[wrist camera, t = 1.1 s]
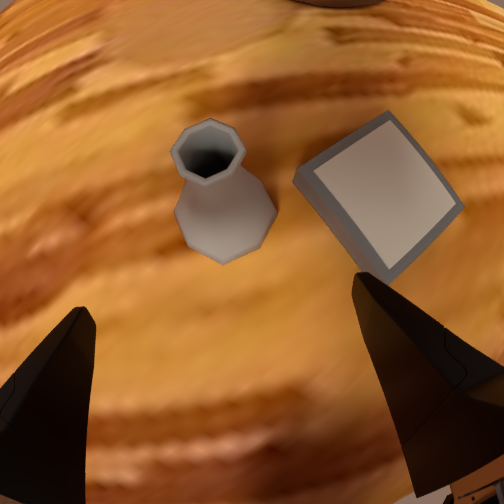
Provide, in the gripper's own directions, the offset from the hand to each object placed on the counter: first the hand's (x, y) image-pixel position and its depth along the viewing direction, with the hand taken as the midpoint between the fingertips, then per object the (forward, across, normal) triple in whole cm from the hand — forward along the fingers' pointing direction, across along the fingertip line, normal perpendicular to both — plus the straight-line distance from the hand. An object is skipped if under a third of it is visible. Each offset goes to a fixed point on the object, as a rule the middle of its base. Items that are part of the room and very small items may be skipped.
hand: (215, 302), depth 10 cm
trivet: (+13, -12, +4) cm, 18 cm away
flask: (+13, 0, +4) cm, 14 cm away
